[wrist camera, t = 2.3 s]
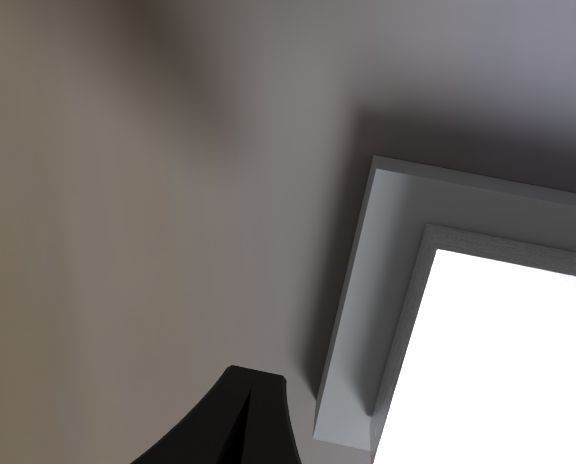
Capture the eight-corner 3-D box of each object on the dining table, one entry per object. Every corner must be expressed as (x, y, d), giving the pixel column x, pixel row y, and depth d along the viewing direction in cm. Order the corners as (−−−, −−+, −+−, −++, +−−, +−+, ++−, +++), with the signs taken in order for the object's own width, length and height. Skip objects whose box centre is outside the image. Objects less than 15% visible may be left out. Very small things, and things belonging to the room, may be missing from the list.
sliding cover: (688, 274, 15) (737, 308, 13) (589, 473, 17) (618, 525, 15) (426, 223, 15) (437, 248, 13) (368, 426, 18) (371, 471, 16)
